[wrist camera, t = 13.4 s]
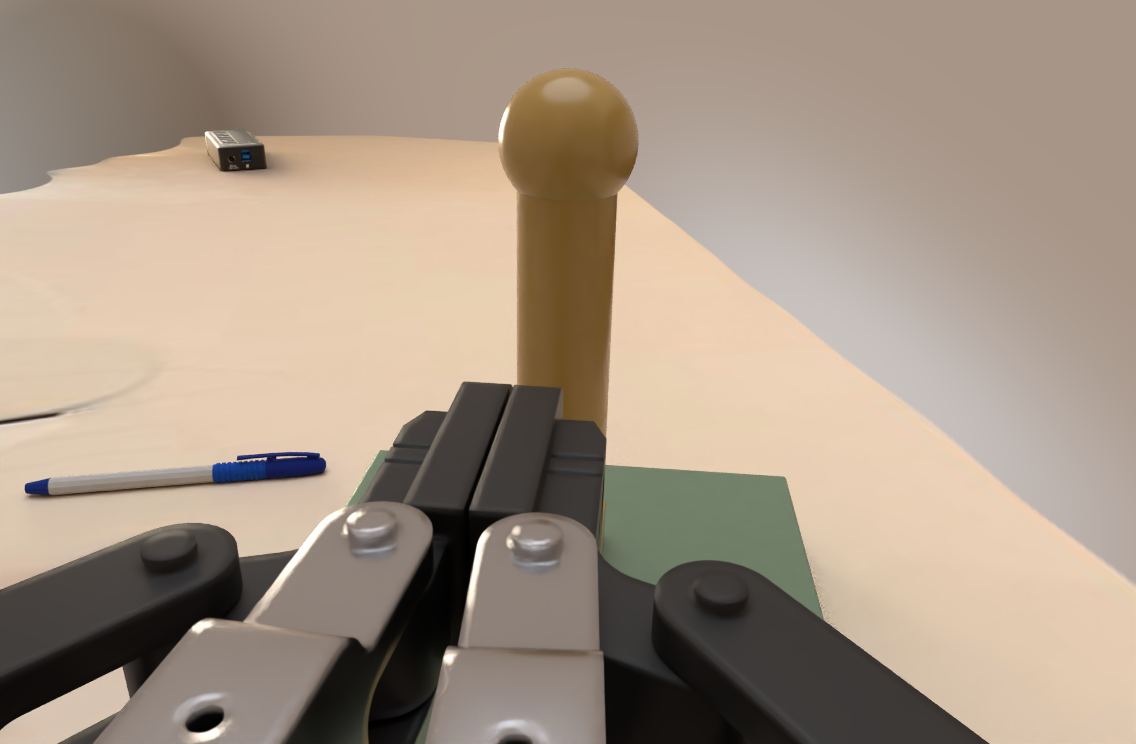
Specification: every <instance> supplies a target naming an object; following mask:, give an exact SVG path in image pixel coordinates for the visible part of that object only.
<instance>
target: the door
mask: <svg viewBox="0 0 1136 744" xmlns="http://www.w3.org/2000/svg"><path fill="white" fill-rule="evenodd" d="M388 452H389V451H384V450H380V451H378V453H377V454H376V456H375V458H374V459H373V461H372V463H371V464H370V466H369V468H368V469H367V471H366V473H365V474H364V476H363V478H362V479H361V481H360V483H359V484H358V486H357V488H356V489H355V491H354V493H353V494H352V496H351V498H350V499H349V501H348V503H347V504H346V506H345V508H346V507H349V506H353V505H356V504H358V503H359V501H360V500H361V498H362V496H363V494H364V493H365V491H366V489H367V488H368V486H369V484H370V482H371V481H372V479H373V477H374V476H375V474H376V472H377V470H378V469H379V467H380V465H381V464H382V462H384V458H385V457H386V455H387V453H388ZM604 499H605V501H606V507H605V529H604V541H603V552H602V557H603V558H604V559H605V560H606V561H607V562H608V563H609V564H610V565H611V566H613V567H614V568H616V569H617V570H619V571H620V572H622V573H624V574H626V575H628V576H630V577H633V578H635V579H638V580H641V581H644V582H647V583H651V584H654V585H657V583H658V581H659V579H660V578H661V577H662V576H663V574H665V573H666V572H667V571H669V570H670V569H672V568H674V567H676V566H678V565H681V564H684V563H687V562H692V561H699V560H718V561H725V562H730V563H734V564H738V565H741V566H744V567H747V568H750V569H752V570H754V571H756V572H758V573H760V574H761V575H763V576H764V577H766V578H767V579H769V580H770V581H771V582H773V583H774V584H775V585H777V586H778V587H779V588H781V589H782V590H783V591H785V592H786V593H787V594H789V595H790V596H791V597H793V598H794V599H796V600H797V601H798V602H800V603H801V604H802V605H804V606H805V607H806V608H808V609H809V610H810V611H812V612H813V613H814V614H816V615H817V616H818V617H820V618H821V619H822V620H824V619H823V615H822V611H821V607H820V604H819V600H818V596H817V593H816V589H815V585H814V581H813V578H812V574H811V570H810V567H809V563H808V559H807V555H806V552H805V548H804V544H803V541H802V537H801V533H800V529H799V526H798V522H797V518H796V515H795V511H794V507H793V503H792V500H791V496H790V492H789V489H788V485H787V481H786V478H785V477H781V476H765V475H750V474H735V473H720V472H704V471H689V470H674V469H659V468H643V467H628V466H613V465H605V480H604Z"/></svg>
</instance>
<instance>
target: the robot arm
mask: <svg viewBox="0 0 1136 744" xmlns="http://www.w3.org/2000/svg"><path fill="white" fill-rule="evenodd" d="M605 459H606V437H605V436H604V435H603V433H602V432H601V430H600V429H599V427H598V426H597V425H596V423H595V422H594V421H581V420H565V419H563V389H562V388H559V387H543V386H526V385H514V387H512V385H511V384H495V383H479V382H463V383H462V384H461V386H460V388H459V390H458V392H457V395H456V397H455V399H454V401H453V403H452V405H451V407H450V409H449V411H448V412H441V411H425V412H424V413H422V414H420V415H419V416H417V417H416V418H414V419H413V420H411V421H410V422H408V423H407V424H405V425H404V426H403V428H402V429H401V431H400V433H399V434H398V436H397V438H396V440H395V441H394V443H393V447H391V448H390V450H389V452H388V453H387V455H386V457H385V458H384V462H382V464H381V465H380V467H379V469H378V470H377V472H376V474H375V476H374V477H373V479H372V481H371V482H370V484H369V486H368V488H367V489H366V491H365V493H364V494H363V496H362V498H361V500H360V501H359V503H358V504H356V505H353V506H349V507H346V508H344V509H341V510H339V511H337V512H335V513H333V514H331V515H330V516H328V517H327V518H326V519H324V520H323V521H322V522H321V523H320V524H319V525H318V526H317V527H316V529H315V530H314V531H313V532H312V534H311V535H310V536H309V538H308V539H307V540H306V542H305V543H304V544H303V545H302V547H301V548H300V549H296V550H292V551H286V552H280V553H272V554H264V555H256V556H248V557H240V558H239V556H238V549H237V543H236V541H235V538H234V537H233V536H232V535H231V534H230V533H229V532H228V531H226V530H225V529H222V528H220V527H218V526H214V525H210V524H202V523H184V524H175V525H169V526H165V527H161V528H157V529H154V530H151V531H148V532H145V533H142V534H140V535H137V536H135V537H132V538H130V539H127V540H125V541H122V542H120V543H117V544H115V545H112V546H110V547H107V548H105V549H102V550H100V551H97V552H94V553H92V554H89V555H87V556H84V557H82V558H79V559H77V560H74V561H72V562H69V563H67V564H64V565H62V566H59V567H57V568H54V569H52V570H49V571H47V572H44V573H41V574H39V575H36V576H34V577H31V578H29V579H26V580H24V581H21V582H19V583H16V584H14V585H11V586H9V587H6V588H4V589H1V590H0V730H1V729H2V728H3V727H4V726H6V725H7V724H8V723H10V722H11V721H13V720H14V719H16V718H18V717H20V716H22V715H24V714H26V713H28V712H30V711H32V710H34V709H36V708H38V707H40V706H42V705H44V704H46V703H48V702H50V701H52V700H54V699H56V698H58V697H60V696H63V695H65V694H67V693H69V692H71V691H73V690H75V689H77V688H79V687H81V686H83V685H85V684H87V683H89V682H91V681H93V680H95V679H97V678H99V677H101V676H103V675H105V674H107V673H109V672H111V671H114V670H116V669H118V668H120V667H122V666H123V671H124V675H125V679H126V684H127V688H128V692H129V696H130V700H129V701H128V703H127V704H126V705H125V706H124V707H123V708H122V710H121V711H119V712H117V713H115V714H113V715H111V716H110V717H108V718H106V719H104V720H102V721H100V722H98V723H96V724H94V725H92V726H90V727H89V728H87V729H85V730H83V731H81V732H79V733H77V734H75V735H73V736H71V737H69V738H67V739H66V740H64V741H62V742H60V743H58V744H989V743H988V742H986V741H985V740H984V739H982V738H981V737H980V736H978V735H977V734H976V733H974V732H973V731H972V730H970V729H969V728H968V727H966V726H965V725H964V724H962V723H961V722H960V721H958V720H957V719H956V718H954V717H953V716H952V715H950V714H949V713H947V712H946V711H945V710H943V709H942V708H941V707H939V706H938V705H937V704H935V703H934V702H933V701H931V700H930V699H929V698H927V697H926V696H925V695H923V694H922V693H921V692H919V691H918V690H917V689H915V688H914V687H913V686H911V685H910V684H908V683H907V682H906V681H904V680H903V679H902V678H900V677H899V676H898V675H896V674H895V673H894V672H892V671H891V670H890V669H888V668H887V667H886V666H884V665H883V664H882V663H880V662H879V661H878V660H876V659H875V658H874V657H872V656H871V655H869V654H868V653H867V652H865V651H864V650H863V649H861V648H860V647H859V646H857V645H856V644H855V643H853V642H852V641H851V640H849V639H848V638H847V637H845V636H844V635H843V634H841V633H840V632H839V631H837V630H836V629H835V628H833V627H832V626H830V625H829V624H828V623H826V622H825V621H824V620H822V619H821V618H820V617H818V616H817V615H816V614H814V613H813V612H812V611H810V610H809V609H808V608H806V607H805V606H804V605H802V604H801V603H800V602H798V601H797V600H796V599H794V598H793V597H791V596H790V595H789V594H787V593H786V592H785V591H783V590H782V589H781V588H779V587H778V586H777V585H775V584H774V583H773V582H771V581H770V580H769V579H767V578H766V577H764V576H763V575H761V574H760V573H758V572H756V571H754V570H752V569H750V568H747V567H744V566H741V565H738V564H734V563H730V562H725V561H718V560H699V561H692V562H687V563H684V564H681V565H678V566H676V567H674V568H672V569H670V570H669V571H667V572H666V573H665V574H663V576H662V577H661V578H660V579H659V581H658V583H657V585H654V584H651V583H647V582H644V581H641V580H638V579H635V578H633V577H630V576H628V575H626V574H624V573H622V572H620V571H619V570H617V569H616V568H614V567H613V566H611V565H610V564H609V563H608V562H607V561H606V560H605V559H604V558H603V557H602V555H601V554H600V544H601V534H602V523H603V502H604V480H605Z"/></svg>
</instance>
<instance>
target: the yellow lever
mask: <svg viewBox="0 0 1136 744" xmlns="http://www.w3.org/2000/svg"><path fill="white" fill-rule="evenodd" d="M498 146H499V154H500V159H501V163H502V166H503V169H504V171H505V173H506V175H507V177H508V179H509V180H510V182H511V183H512V185H513V186H514V187H515V189H516V190H517V385H526V386H543V387H559V388H562V389H563V419H565V420H581V421H594V422H595V423H596V425H597V426H598V427H599V429H600V430H601V432H602V433H603V435H604V436H605V437H606V429H607V407H608V385H609V363H610V342H611V320H612V298H613V276H614V255H615V233H616V211H617V192H618V191H619V190H620V189H621V188H622V187H623V186H624V184H625V183H626V181H627V179H628V178H629V176H630V174H631V172H632V170H633V167H634V165H635V161H636V157H637V152H638V130H637V125H636V121H635V118H634V115H633V112H632V110H631V108H630V106H629V104H628V102H627V101H626V99H625V98H624V97H623V95H622V94H621V93H620V91H619V90H617V89H616V88H615V87H614V86H613V85H612V84H611V83H610V82H608V81H607V80H606V79H604V78H602V77H600V76H598V75H596V74H593V73H591V72H588V71H584V70H580V69H570V68H569V69H557V70H552V71H549V72H546V73H543V74H540V75H538V76H536V77H535V78H533V79H531V80H530V81H528V82H527V83H526V84H525V85H523V86H522V87H521V88H520V89H519V90H518V91H517V92H516V94H515V95H514V96H513V97H512V99H511V100H510V102H509V103H508V105H507V107H506V109H505V111H504V113H503V116H502V119H501V122H500V127H499V135H498ZM605 507H606V501H605V499H604V502H603V523H602V534H601V544H600V554H601V555H602V552H603V541H604V529H605Z"/></svg>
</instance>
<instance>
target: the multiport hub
mask: <svg viewBox="0 0 1136 744" xmlns="http://www.w3.org/2000/svg"><path fill="white" fill-rule="evenodd" d="M205 137H206V144H207V151H208V154H209V156H210V157H211V158H212V160H213V161H214V162H215V164H216V165H217V166H218V168H219V169H220V170H221V171H231V170H247V169H263V168H266V158H265V150H264V145H263V144H262V143H261V142H260V141H259V140H258V139H257V138H255V137H254V136H253V135H252V134H251V133H250V132H249V131H247V130H225V131H207V132H205Z"/></svg>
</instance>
